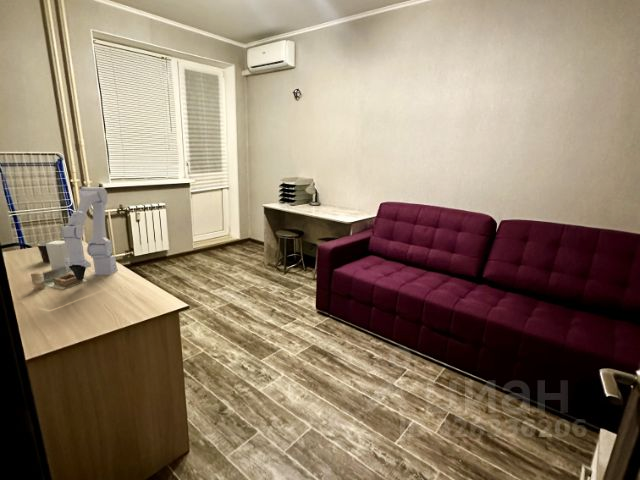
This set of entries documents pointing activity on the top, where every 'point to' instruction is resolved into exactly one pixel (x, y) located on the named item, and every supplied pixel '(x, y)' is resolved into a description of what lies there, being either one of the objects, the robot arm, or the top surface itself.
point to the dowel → (38, 280)
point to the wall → (54, 274)
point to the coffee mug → (44, 251)
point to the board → (57, 285)
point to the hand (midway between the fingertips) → (80, 279)
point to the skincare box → (58, 254)
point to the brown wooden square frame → (66, 280)
